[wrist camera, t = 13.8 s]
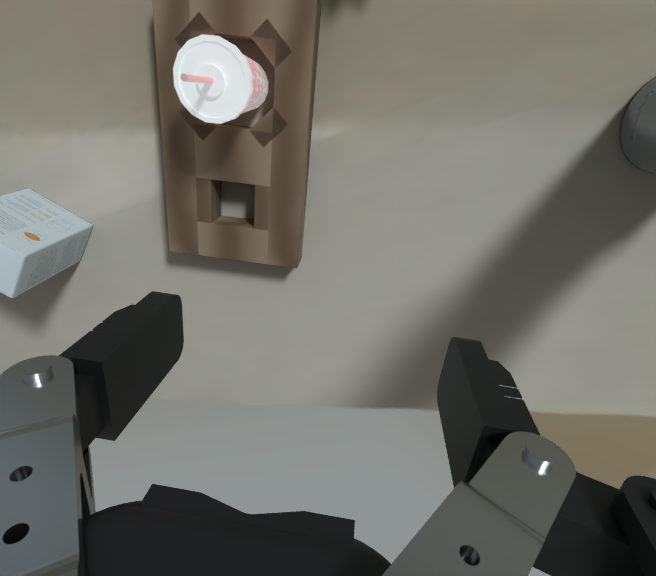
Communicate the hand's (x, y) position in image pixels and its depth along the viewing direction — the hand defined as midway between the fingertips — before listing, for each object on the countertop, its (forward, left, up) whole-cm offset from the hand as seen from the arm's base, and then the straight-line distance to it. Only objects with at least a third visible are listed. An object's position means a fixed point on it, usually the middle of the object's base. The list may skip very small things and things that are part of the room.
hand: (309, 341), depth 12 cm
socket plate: (+12, -2, -33) cm, 35 cm away
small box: (+34, +10, -33) cm, 48 cm away
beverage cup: (+12, -7, -33) cm, 35 cm away
